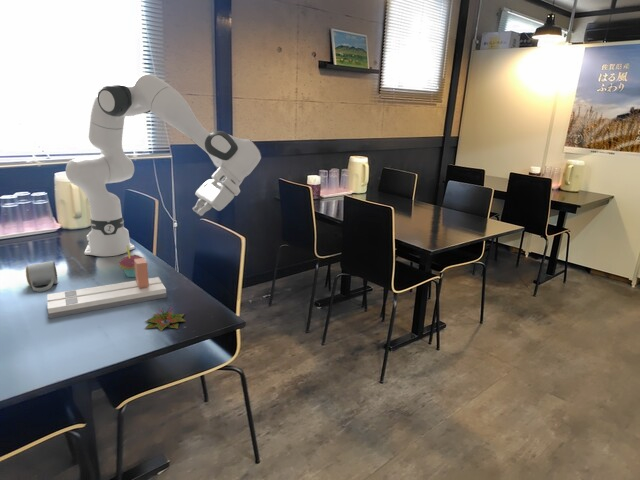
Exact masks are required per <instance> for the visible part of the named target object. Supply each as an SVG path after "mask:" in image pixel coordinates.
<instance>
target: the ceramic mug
mask: <svg viewBox="0 0 640 480" xmlns="http://www.w3.org/2000/svg"><path fill="white" fill-rule="evenodd" d="M57 271H58V270H57V267H56V263H55V261H54V260H50V261H45V262H39V263H33V264H30V265H27V266H26V268H25V276H26V282H27V284H28V285H29V286H30V287H31V288H32V290H33V291H35V292H40V293H41V292H46V291H48V290H50V289H51V288H52V287H53V285H55V284H56V285H57V284H58V282H59V281H58V278H59V277H58V272H57ZM41 286H44V287H41Z"/></svg>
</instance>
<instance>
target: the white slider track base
mask: <svg viewBox="0 0 640 480" xmlns="http://www.w3.org/2000/svg"><path fill="white" fill-rule="evenodd" d="M148 280H149V286H148V287H141V288H139V287H138V285H137V283H136V280H129V281H123V282H119V283H118V282H117V283H111V284H106V285H97V286H91V287H86V288H84V287H83V288H80V289H79V288H78V289H73V290H67V291H60V292H54V293H53V292H52V293H48V294H47V293H46V294H47V295H46V296H47V298H46V299H47V314H48V318H49V319H55V318H60V317H64V316H65V317H66V316H70V315H75V314H81V313H88V312H94V311H99V310H104V309H109V308H114V307H120V306H125V305H130V304H137V303H142V302H148V301H153V300H158V299H164V298H167V288H166V287H165V285H164V284H163V282H162V280H161V278H160V277H159V276H156V277H148Z"/></svg>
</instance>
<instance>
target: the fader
mask: <svg viewBox="0 0 640 480" xmlns="http://www.w3.org/2000/svg"><path fill="white" fill-rule="evenodd" d="M134 264H135V275H136V277H135V281H136V283H137V285H138V287H139V288H141V287H148V286H149V280H148V278H149V272H148V271H149V269H148V262H147V260H146V258H145V257H142V258H138V259H134Z"/></svg>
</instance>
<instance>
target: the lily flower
mask: <svg viewBox="0 0 640 480" xmlns="http://www.w3.org/2000/svg"><path fill="white" fill-rule="evenodd" d="M158 310H159V312H160V313H158V312H156V313H153V316H152V317H151V318H149V319H147V320H145V321H143V322H147V323H148V322H149V323H148V324H147V325H146V327H145V328H144V329H153V328H158V330H159V332H162V331H163V330H164V329H165V328H171V329H172V328H173V329H179V322H186V319H184V318H183V317H184V315H185V313H181V314H180V313H176V314H175V313H174V312H172V310H173V308H172V306H170V307H169V309H167V310H165V311H164V309H163V307H161V309H160V308H158ZM173 311H174V310H173ZM167 321H169V322H167ZM163 322H164V323H163ZM170 324H171V325H170Z"/></svg>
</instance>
